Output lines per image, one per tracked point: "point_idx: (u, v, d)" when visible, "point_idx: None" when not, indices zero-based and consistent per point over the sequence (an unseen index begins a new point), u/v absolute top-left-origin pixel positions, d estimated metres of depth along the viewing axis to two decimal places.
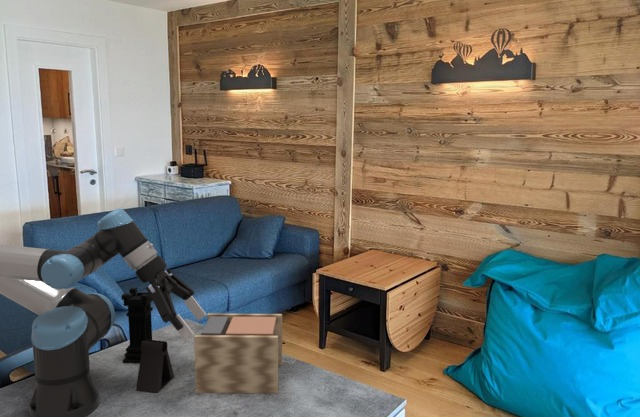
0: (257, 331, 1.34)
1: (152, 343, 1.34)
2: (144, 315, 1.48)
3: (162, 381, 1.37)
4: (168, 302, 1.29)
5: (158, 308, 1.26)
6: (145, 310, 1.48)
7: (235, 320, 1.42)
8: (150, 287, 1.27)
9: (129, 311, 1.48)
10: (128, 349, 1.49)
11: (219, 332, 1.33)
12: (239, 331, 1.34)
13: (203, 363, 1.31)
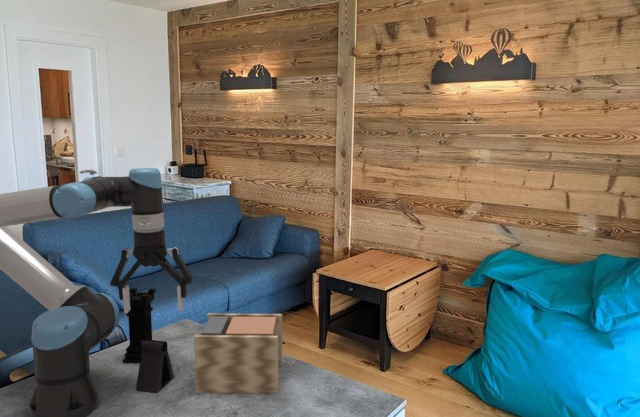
0: (257, 331, 1.34)
1: (152, 343, 1.34)
2: (144, 315, 1.48)
3: (162, 381, 1.37)
4: None
5: None
6: (145, 310, 1.48)
7: (235, 320, 1.42)
8: None
9: (129, 311, 1.48)
10: (128, 349, 1.49)
11: (219, 332, 1.33)
12: (239, 331, 1.34)
13: (203, 363, 1.31)
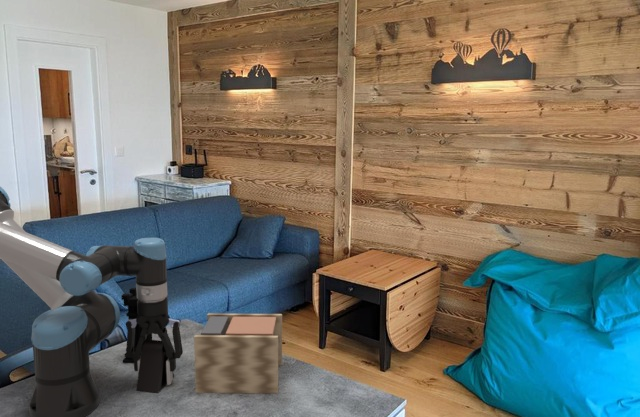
0: (257, 331, 1.34)
1: (152, 343, 1.34)
2: None
3: (162, 381, 1.38)
4: (137, 345, 1.34)
5: None
6: None
7: (235, 320, 1.42)
8: None
9: (129, 311, 1.48)
10: None
11: (219, 332, 1.33)
12: (239, 331, 1.34)
13: (203, 363, 1.31)
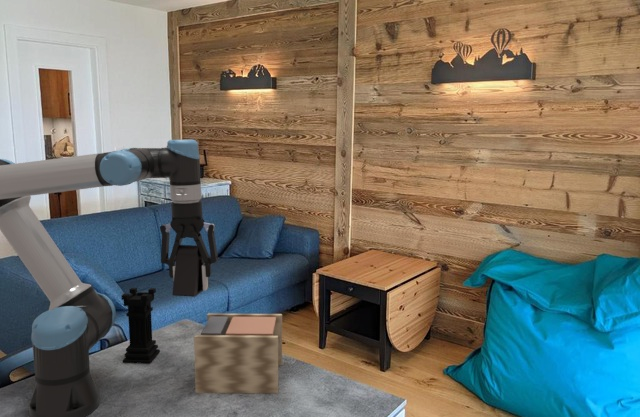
0: (257, 331, 1.34)
1: (187, 247, 1.32)
2: (144, 315, 1.48)
3: (197, 288, 1.35)
4: None
5: None
6: (145, 310, 1.48)
7: (235, 320, 1.42)
8: None
9: (129, 311, 1.48)
10: (128, 349, 1.49)
11: (219, 332, 1.33)
12: (239, 331, 1.34)
13: (203, 363, 1.31)
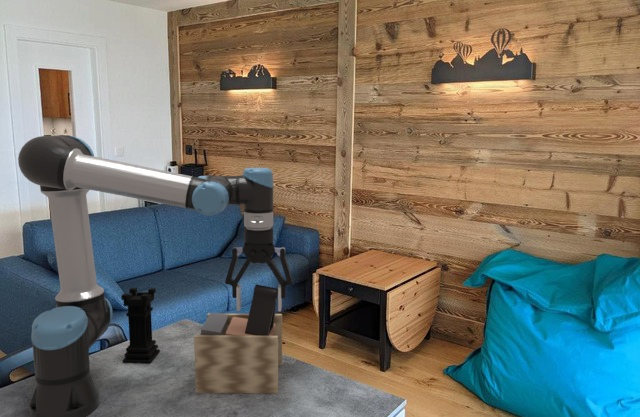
0: None
1: (266, 289, 1.36)
2: (144, 315, 1.48)
3: None
4: (239, 272, 1.35)
5: None
6: (145, 310, 1.48)
7: (235, 320, 1.42)
8: None
9: (129, 311, 1.48)
10: (128, 349, 1.49)
11: (219, 331, 1.33)
12: (239, 333, 1.34)
13: (203, 363, 1.31)
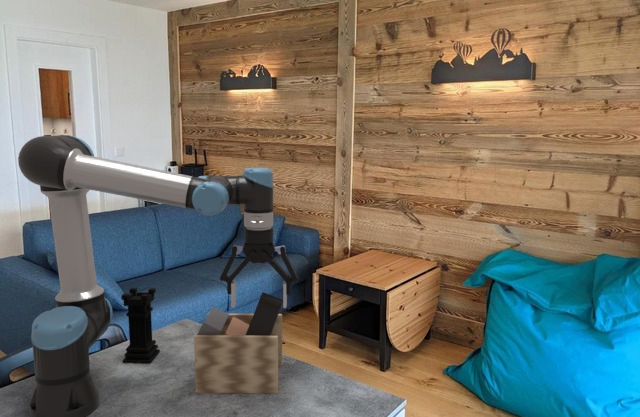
0: None
1: (272, 298, 1.37)
2: (144, 315, 1.48)
3: None
4: (235, 269, 1.35)
5: None
6: (145, 310, 1.48)
7: (234, 321, 1.42)
8: None
9: (129, 311, 1.48)
10: (128, 349, 1.49)
11: (220, 329, 1.33)
12: None
13: (203, 363, 1.31)
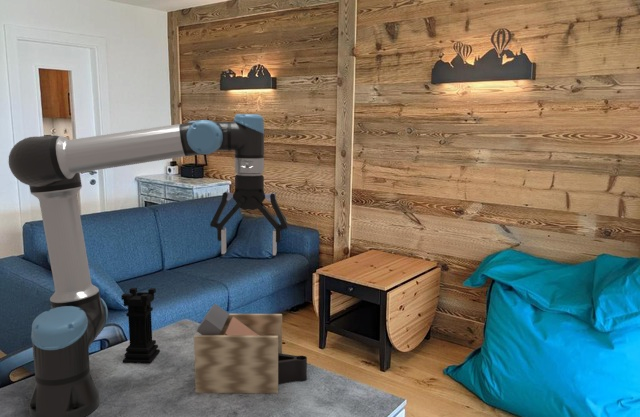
0: None
1: (305, 370, 1.39)
2: (144, 315, 1.48)
3: None
4: (226, 215, 1.36)
5: None
6: (145, 310, 1.48)
7: (234, 322, 1.42)
8: None
9: (129, 311, 1.48)
10: (128, 349, 1.49)
11: (220, 328, 1.33)
12: None
13: (203, 363, 1.31)
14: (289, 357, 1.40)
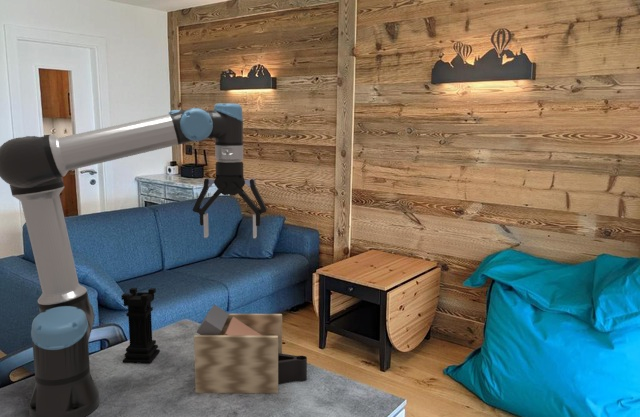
0: None
1: (305, 370, 1.39)
2: (144, 315, 1.48)
3: None
4: None
5: None
6: (145, 310, 1.48)
7: (234, 321, 1.42)
8: None
9: (129, 311, 1.48)
10: (128, 349, 1.49)
11: (220, 329, 1.33)
12: None
13: (203, 363, 1.31)
14: (289, 357, 1.40)
